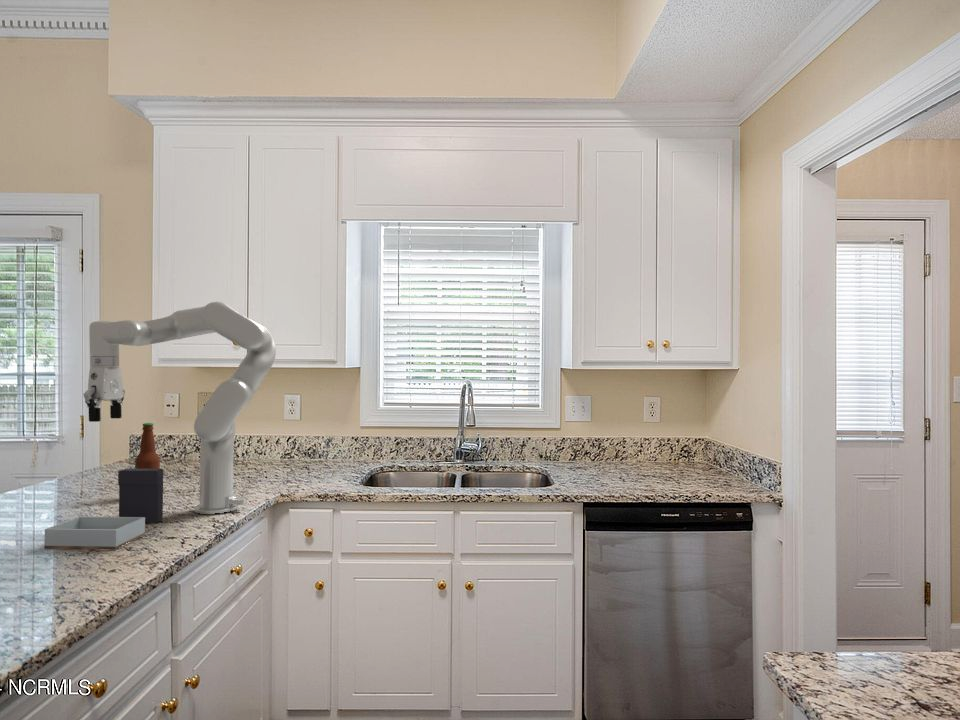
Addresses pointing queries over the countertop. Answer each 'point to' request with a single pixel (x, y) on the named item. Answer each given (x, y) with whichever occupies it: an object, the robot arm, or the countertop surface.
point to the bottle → (147, 450)
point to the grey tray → (95, 531)
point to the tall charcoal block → (141, 493)
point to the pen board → (89, 546)
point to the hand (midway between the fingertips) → (105, 419)
